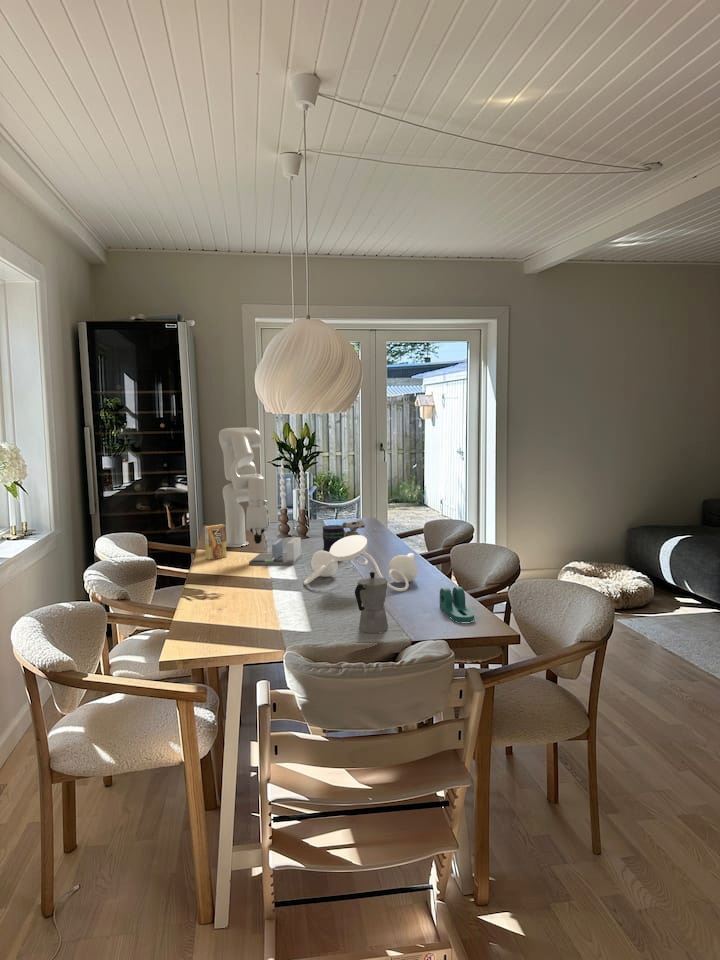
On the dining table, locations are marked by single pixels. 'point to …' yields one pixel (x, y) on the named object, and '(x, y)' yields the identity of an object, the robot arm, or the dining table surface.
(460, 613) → the bracket
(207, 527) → the candy box
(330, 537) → the storage jar
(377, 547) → the dining table surface
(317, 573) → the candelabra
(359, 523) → the figurine
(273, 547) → the pressure plate
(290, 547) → the gauge housing
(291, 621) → the dining table surface
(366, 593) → the coffeepot
